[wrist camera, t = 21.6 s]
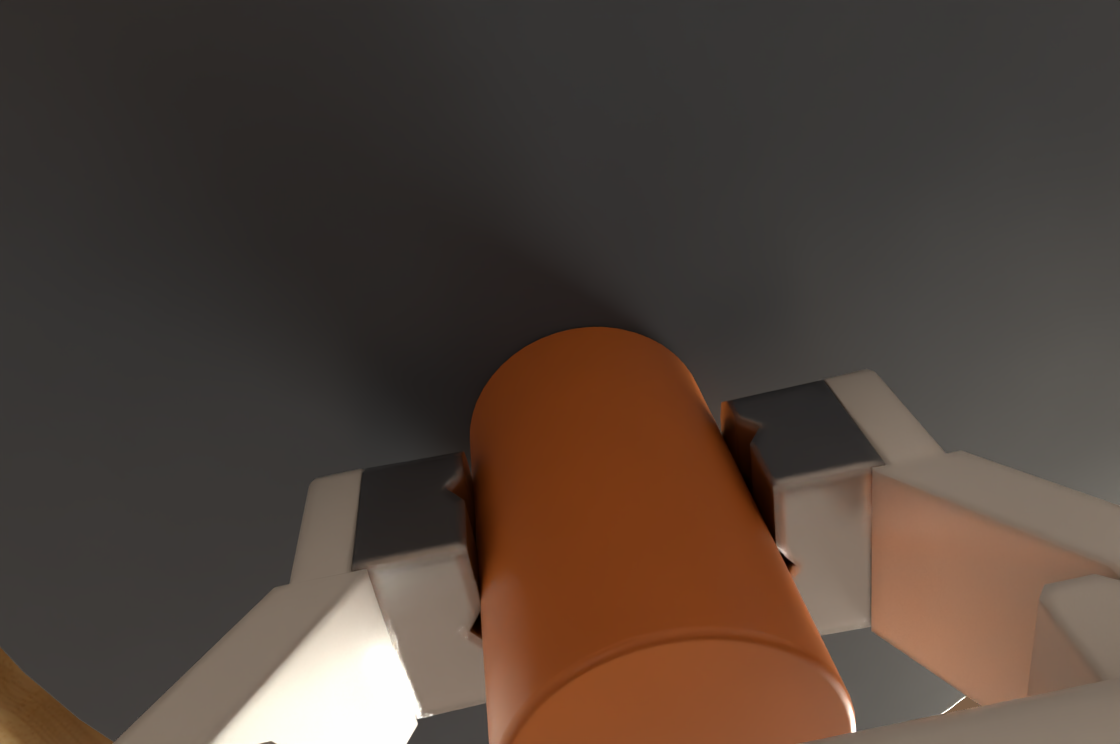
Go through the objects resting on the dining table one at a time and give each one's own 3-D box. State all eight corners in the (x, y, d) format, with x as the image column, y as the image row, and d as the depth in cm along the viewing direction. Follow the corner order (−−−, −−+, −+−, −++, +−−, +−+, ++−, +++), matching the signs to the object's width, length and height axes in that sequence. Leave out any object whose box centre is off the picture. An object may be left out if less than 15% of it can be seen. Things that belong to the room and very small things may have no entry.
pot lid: (1295, -504, 8) (2554, -1016, 3) (1085, 687, 15) (1389, 1079, 10) (-436, -224, 8) (-1893, -338, 3) (177, 869, 15) (55, 1364, 10)
